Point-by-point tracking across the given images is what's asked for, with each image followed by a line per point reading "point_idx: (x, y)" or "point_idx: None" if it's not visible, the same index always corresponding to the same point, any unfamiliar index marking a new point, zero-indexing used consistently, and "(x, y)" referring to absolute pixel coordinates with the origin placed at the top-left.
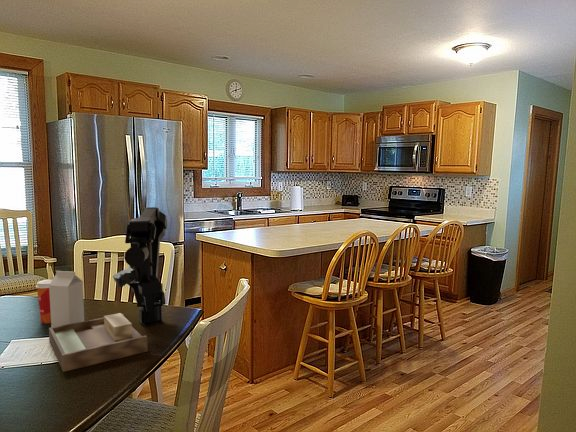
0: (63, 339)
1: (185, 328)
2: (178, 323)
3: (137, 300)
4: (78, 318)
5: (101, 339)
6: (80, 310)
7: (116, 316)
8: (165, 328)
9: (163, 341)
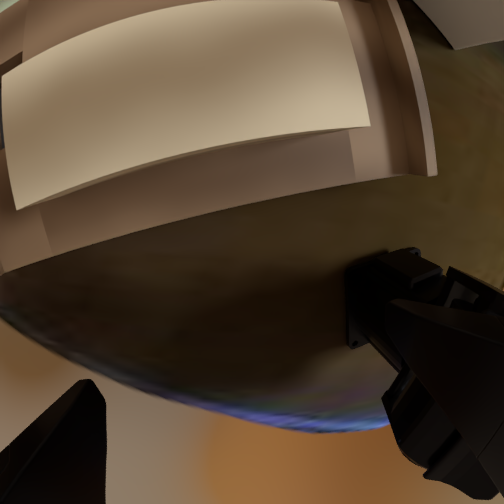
0: None
1: (239, 415)
2: (309, 394)
3: (413, 322)
4: (456, 16)
5: (103, 22)
6: (485, 22)
7: (283, 73)
8: (277, 353)
9: (110, 335)
